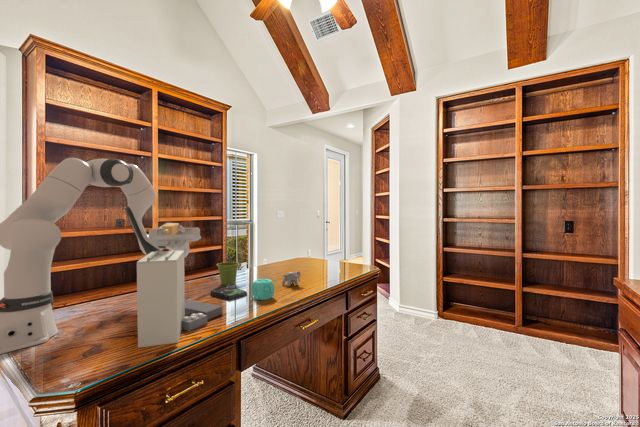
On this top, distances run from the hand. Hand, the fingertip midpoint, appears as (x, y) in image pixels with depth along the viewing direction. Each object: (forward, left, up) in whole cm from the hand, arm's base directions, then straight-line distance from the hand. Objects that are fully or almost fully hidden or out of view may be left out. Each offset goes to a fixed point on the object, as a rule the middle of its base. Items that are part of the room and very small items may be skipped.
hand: (173, 226), depth 129 cm
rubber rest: (0, -13, -34) cm, 36 cm away
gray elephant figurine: (+54, -25, -35) cm, 69 cm away
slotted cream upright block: (-18, -18, -34) cm, 42 cm away
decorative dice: (+29, -24, -35) cm, 51 cm away
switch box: (-10, -23, -34) cm, 42 cm away
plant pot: (+41, +9, -34) cm, 55 cm away
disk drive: (+25, -6, -35) cm, 44 cm away
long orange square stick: (-7, -7, -2) cm, 11 cm away
